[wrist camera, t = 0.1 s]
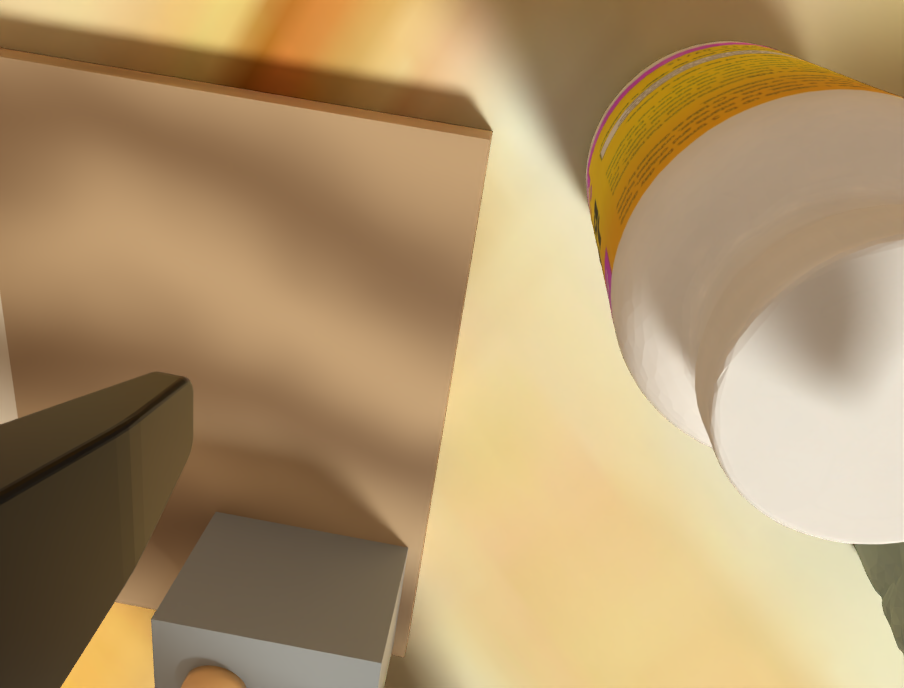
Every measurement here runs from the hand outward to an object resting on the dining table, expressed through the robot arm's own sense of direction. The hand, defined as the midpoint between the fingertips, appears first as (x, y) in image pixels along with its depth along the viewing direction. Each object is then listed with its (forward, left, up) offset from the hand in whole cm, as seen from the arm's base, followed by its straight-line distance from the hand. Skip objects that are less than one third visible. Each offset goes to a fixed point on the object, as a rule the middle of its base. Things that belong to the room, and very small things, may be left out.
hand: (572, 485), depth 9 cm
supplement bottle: (+1, -4, -15) cm, 15 cm away
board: (-9, +13, -15) cm, 22 cm away
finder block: (-16, +6, -13) cm, 22 cm away
